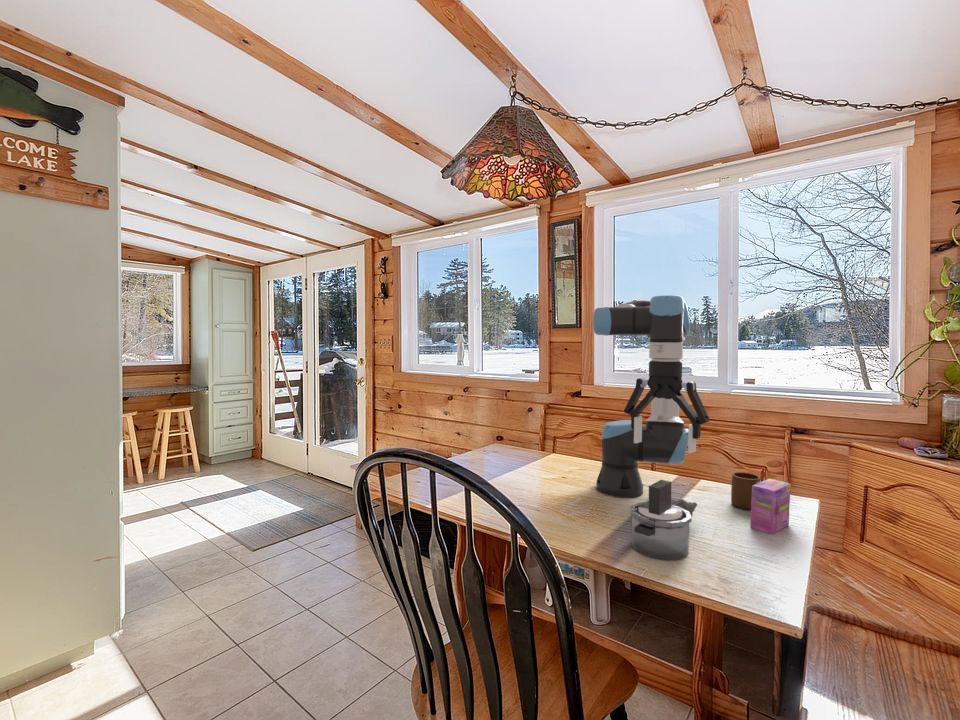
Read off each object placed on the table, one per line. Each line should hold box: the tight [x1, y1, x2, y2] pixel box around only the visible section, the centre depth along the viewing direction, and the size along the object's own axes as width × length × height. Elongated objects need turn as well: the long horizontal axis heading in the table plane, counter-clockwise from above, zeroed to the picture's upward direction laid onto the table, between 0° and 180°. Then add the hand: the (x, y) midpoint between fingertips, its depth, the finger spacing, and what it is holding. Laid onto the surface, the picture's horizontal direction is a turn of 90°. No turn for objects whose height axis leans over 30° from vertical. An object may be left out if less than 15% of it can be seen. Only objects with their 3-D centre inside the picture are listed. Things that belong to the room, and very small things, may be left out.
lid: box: [638, 479, 682, 521], centre depth 115 cm, size 10×10×8 cm
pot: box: [630, 501, 693, 562], centre depth 115 cm, size 14×18×9 cm
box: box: [749, 478, 792, 535], centre depth 128 cm, size 10×6×12 cm, turn 126°
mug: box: [730, 471, 761, 511], centre depth 142 cm, size 12×8×9 cm, turn 10°
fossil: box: [671, 498, 698, 518], centre depth 129 cm, size 11×9×8 cm
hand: (663, 447), depth 115 cm, fingers open, 13 cm apart
